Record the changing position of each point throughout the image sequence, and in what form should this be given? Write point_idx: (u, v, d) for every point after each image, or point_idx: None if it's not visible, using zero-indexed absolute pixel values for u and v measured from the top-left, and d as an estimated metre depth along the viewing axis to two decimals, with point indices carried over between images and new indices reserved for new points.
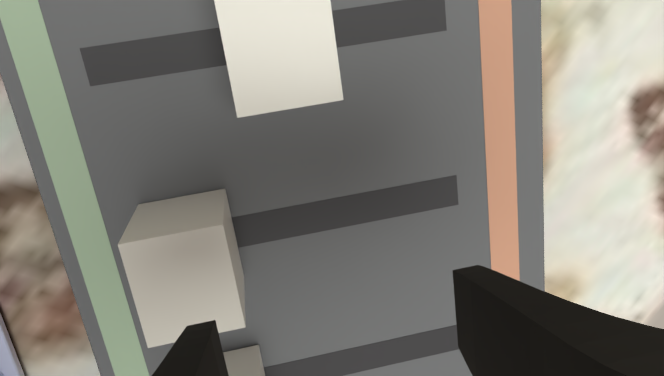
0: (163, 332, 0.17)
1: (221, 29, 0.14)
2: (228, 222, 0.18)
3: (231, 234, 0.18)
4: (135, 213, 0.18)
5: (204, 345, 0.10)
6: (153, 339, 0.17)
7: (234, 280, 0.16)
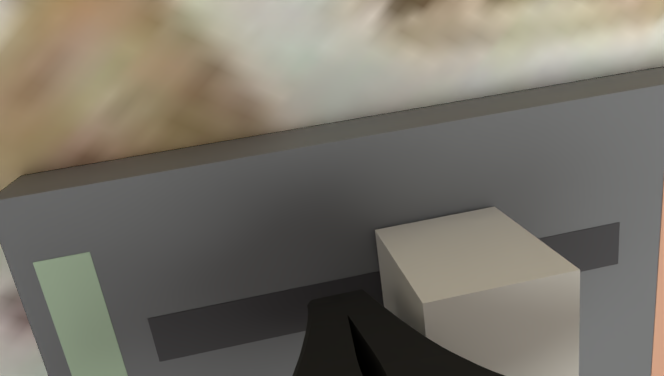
0: None
1: None
2: None
3: None
4: None
5: (346, 315, 0.10)
6: None
7: None
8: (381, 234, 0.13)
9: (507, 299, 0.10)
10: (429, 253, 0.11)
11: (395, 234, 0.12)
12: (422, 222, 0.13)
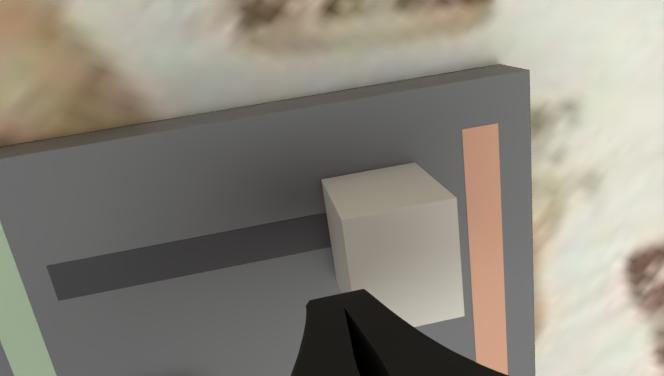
0: None
1: (349, 261, 0.14)
2: None
3: None
4: None
5: (344, 316, 0.10)
6: None
7: None
8: (324, 182, 0.17)
9: (403, 218, 0.14)
10: (355, 192, 0.15)
11: (335, 182, 0.16)
12: (357, 173, 0.17)
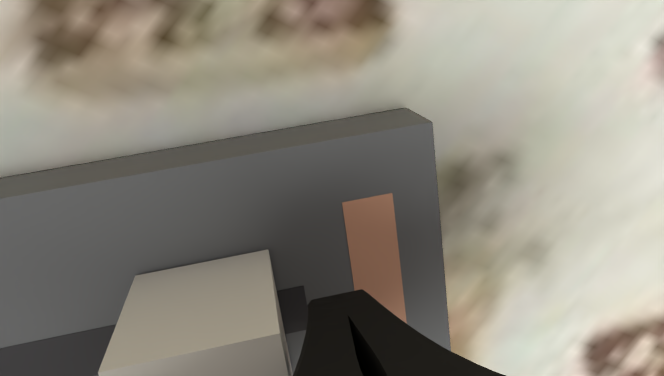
0: None
1: None
2: None
3: None
4: None
5: (346, 315, 0.10)
6: None
7: None
8: (136, 281, 0.12)
9: (199, 365, 0.09)
10: (157, 308, 0.11)
11: (148, 282, 0.12)
12: (186, 267, 0.12)
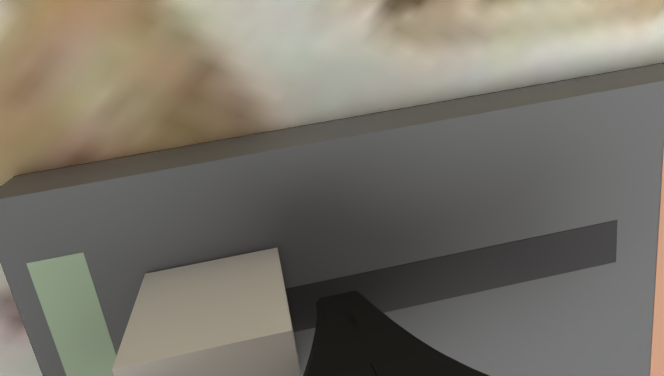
0: None
1: None
2: None
3: None
4: None
5: (355, 313, 0.10)
6: None
7: None
8: (146, 279, 0.12)
9: (212, 361, 0.09)
10: (168, 306, 0.11)
11: (158, 281, 0.12)
12: (196, 265, 0.12)
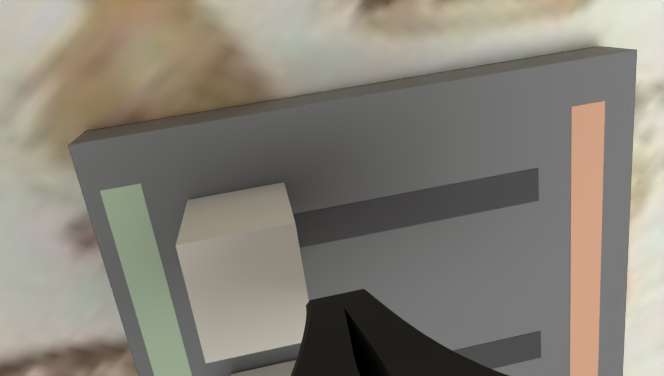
0: None
1: (187, 286, 0.14)
2: None
3: None
4: None
5: (344, 316, 0.10)
6: None
7: None
8: (189, 202, 0.16)
9: (241, 243, 0.14)
10: (208, 215, 0.15)
11: (198, 203, 0.16)
12: (224, 194, 0.17)
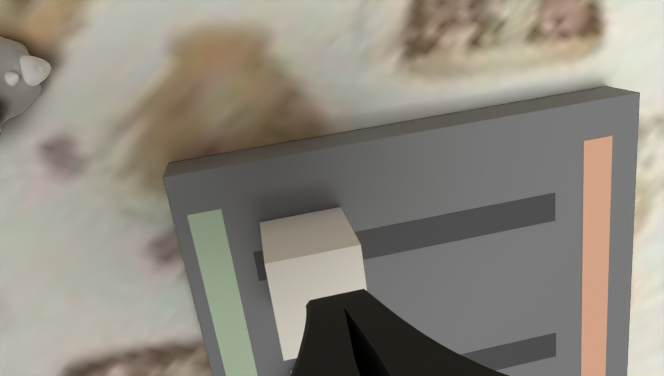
0: None
1: (272, 297, 0.17)
2: None
3: None
4: None
5: (344, 316, 0.10)
6: None
7: None
8: (261, 225, 0.19)
9: (316, 261, 0.17)
10: (283, 236, 0.18)
11: (270, 225, 0.19)
12: (290, 217, 0.20)
